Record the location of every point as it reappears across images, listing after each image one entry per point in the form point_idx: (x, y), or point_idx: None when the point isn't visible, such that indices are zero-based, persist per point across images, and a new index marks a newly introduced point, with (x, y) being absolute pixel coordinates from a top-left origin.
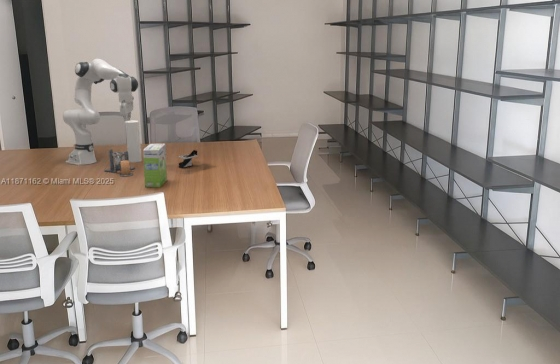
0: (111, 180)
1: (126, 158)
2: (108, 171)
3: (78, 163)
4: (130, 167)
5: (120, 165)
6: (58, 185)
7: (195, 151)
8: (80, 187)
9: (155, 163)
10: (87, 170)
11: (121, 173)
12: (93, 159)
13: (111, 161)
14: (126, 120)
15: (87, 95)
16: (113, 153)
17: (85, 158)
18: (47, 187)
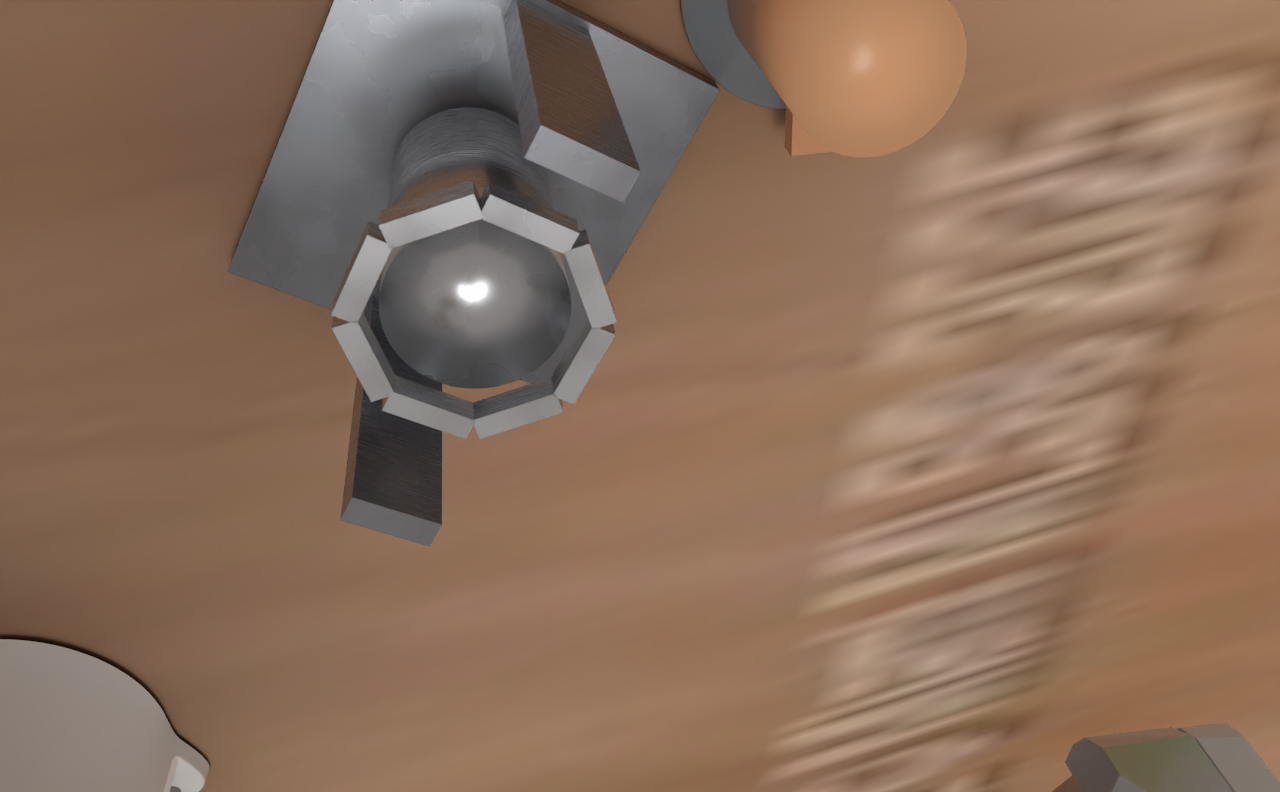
0: (1061, 146)
1: (596, 100)
2: (582, 320)
3: (189, 776)
4: (356, 13)
5: (545, 181)
6: (1083, 635)
7: None
8: (1252, 420)
9: None
10: (468, 590)
11: (737, 85)
12: (25, 689)
13: (422, 379)
14: (1244, 747)
15: None
16: (468, 418)
17: (120, 772)
18: (1121, 690)
